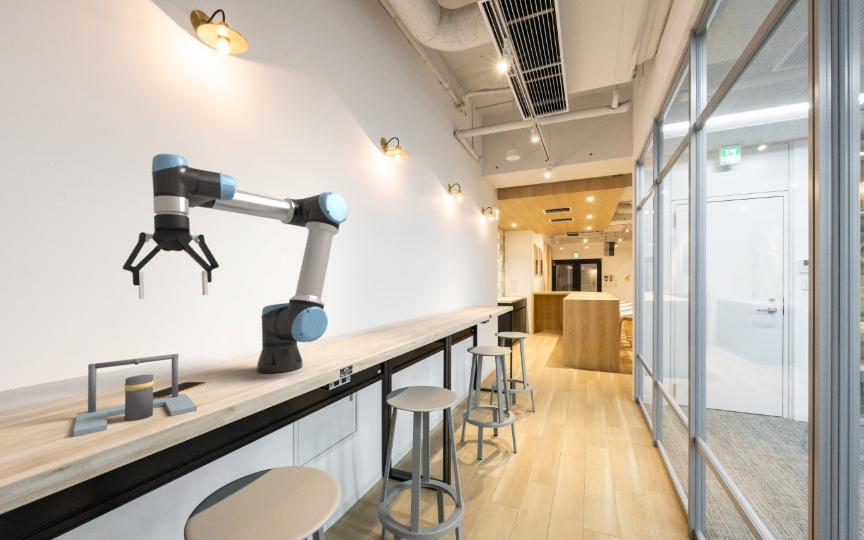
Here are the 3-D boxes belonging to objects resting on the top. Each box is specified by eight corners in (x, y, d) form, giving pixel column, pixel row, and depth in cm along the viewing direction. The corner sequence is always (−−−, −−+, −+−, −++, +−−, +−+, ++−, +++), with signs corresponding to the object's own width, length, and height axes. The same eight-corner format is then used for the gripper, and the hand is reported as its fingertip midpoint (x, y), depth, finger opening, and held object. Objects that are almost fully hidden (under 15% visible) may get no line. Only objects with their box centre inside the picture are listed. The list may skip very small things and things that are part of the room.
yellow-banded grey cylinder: (154, 416, 84) (154, 377, 84) (124, 422, 80) (125, 381, 81) (152, 411, 88) (152, 373, 88) (123, 417, 84) (124, 377, 85)
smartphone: (207, 384, 114) (207, 381, 114) (161, 400, 98) (161, 397, 98) (185, 384, 115) (185, 381, 115) (136, 400, 99) (136, 397, 99)
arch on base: (185, 397, 99) (185, 352, 100) (196, 410, 87) (196, 359, 88) (77, 417, 85) (77, 364, 86) (73, 436, 73) (74, 375, 74)
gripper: (221, 220, 107) (224, 293, 106) (107, 213, 89) (110, 300, 89) (229, 216, 101) (232, 293, 101) (108, 208, 84) (111, 300, 83)
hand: (175, 297), depth 95 cm, fingers open, 13 cm apart
